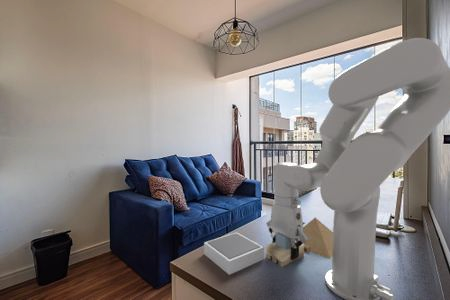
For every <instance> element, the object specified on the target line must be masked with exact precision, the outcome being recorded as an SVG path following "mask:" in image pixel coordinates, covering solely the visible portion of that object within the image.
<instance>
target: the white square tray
mask: <svg viewBox="0 0 450 300" xmlns="http://www.w3.org/2000/svg"><path fill="white" fill-rule="evenodd" d="M203 254H204V256H206V257H207V258H208V259H210V260H211V261H212V262H213V263H214V264H215V265H216V266H218V267H219V268H220V269H221V270H223V271H224V272H225V273H226V274H227V275H229V276H230V275H233V274H234V273H237V272H239V271H241V270H244V269H246V268H248V267H250V266H252V265H254V264H256V263H259V262H261V261H263V260H264V257H265V255H264V254H265V247H264V246H262V245H260V244H259V243H257V242H255V241H254V240H251V239H249V238H248V237H246V236H244V235H242V234H240V233H239V232H233V233H229V234H226V235H224V236H221V237H217V238H214V239H211V240H208V241H205V242H203Z"/></svg>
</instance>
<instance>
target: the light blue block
mask: <svg viewBox="0 0 450 300" xmlns="http://www.w3.org/2000/svg"><path fill="white" fill-rule="evenodd" d="M294 240H295V239H294ZM276 245H277V246H279V247H281V248H283V249H285V250H286V249H288V248H290V247H292V243H291V240H290V238H288V237H286V236H284V235H281V234H279V233H276Z"/></svg>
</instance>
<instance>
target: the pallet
mask: <svg viewBox="0 0 450 300" xmlns="http://www.w3.org/2000/svg"><path fill="white" fill-rule="evenodd" d="M295 243H296V240H295ZM292 247H293V246H292ZM304 256H305V250H304V244H302V245H301V246H299V256H298V258H296V259H294V260H291V247H290V248H288V249H286V250H285V249H283V248H281V247H279V246H277V245H276V242H274V243H269V244H266V245H265V259H266V258H267V260H271V262H273V263H275V264H277V263H278V266H279V267H281V268H284V267H285V266H287V265H289V264H291V263H293V262H295V261H297V260H298V259H301V258H303V257H304Z"/></svg>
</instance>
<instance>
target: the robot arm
mask: <svg viewBox="0 0 450 300" xmlns="http://www.w3.org/2000/svg"><path fill="white" fill-rule="evenodd" d="M398 89H402V91H403V95H402V98H401V100H399V102H398V103H397V104H396V105H395V106H394V107H393V108H392V110H391V111H390V112H389V113H388V115H387V116H386V117H385V118H384V120H383V121H382V122H381V124H380V125H379V126H378V127H377V128H376V129H375V130H371V131H367V132H364V133H362V134H360V135H358V136H357V137H355V135H356V134H357V132H358V130H359V129H360V127H361V126H362V125H363V123H364V121H365V120H366V118H367V117H368V116H369V114H370V113H371V112H372V110H373V108H374V106H375V105H376V103H377V101H379V97H380V96H383V95H386V94H388V93H391V92H394V91H396V90H398ZM328 98H329V101H330V103H331V104H332V106H331V108H330V109H329V111H328V113H327V115H326V117H325V118H324V120H323V121H322V123H321V124H320V127H319V130H318V132H319V134H320V137H321V140H322V144H321V148H320V151H319V152H318V154H317V156H316V157H315V159H314V161H313V162H312V163H307V164H306V163H305V164H297V163H295V162H289V161H287V162H286V161H285V162H283V161H282V162H277V163H276V164H275V167H274V196H273V197H274V200H273V201H274V202H273V203H272V207H271V213H270V219H269V220H268V221H267V222H265V223H266V226H267V228H268V232H269V233H270V237H271V238H272V241H271V242H272V243H274V242H276V233H279V234H281V235H284V236H286V237H288V238H290V240H291V243H292V246H293V247H291V260H294V259H296V258H298V256H299V246H301V245H302V244H304V243H305V242H306V241H307V240H308V238H307V236H306V235H305V233H304V232H303V227H304V226H303V225H304V224H303V222H304V221H303V213H302V209H301V206H300V205H301V204H302V201H301V200H299V190H300V191H304V192H305V191H306V192H307V191H308V192H309V191H311V190H314V189H315V190H316V189H317V188H320V189H319V192H320V196H321V199H322V201H323V203H324V204H325V205H326V206H327V208H329V209H331V210H333V211H334V212H333V225H332V226H333V227H332V232H333V250H332V257H331V260H332V261H331V270H328V271H327V272H326V273H325V284H326V285H327V287H328V289H330V290H331V291H332V292H333V293H334V294H335V295H336V296H339V297H340V298H342V299H344V300H395V295H394V294H393V293H392V288H390V287H387V286H386V285H385V286H384V285H382V284H381V282H379V276H378V275H377V274H375V256H376V255H375V254H376V234H377V219H378V210H379V202H380V196H381V186H382V184H383V183H384V182H385V181H386V180H387V179H388V178H389V176H391V174H393V172H395V171H398V170H399V169H401V168H403V166H404V165H405V164H406V163H407V162H408V160H409V159H410V158H411V156H412V155H413V154H414V153H415V151H416V150H417V149H418V148H419V147H420V146H421V145H422V144H423V143H424V142H425V140H426V139H427V138H428V137H429V136H430V135H431V134H432V132H433V131H434V130H435V129H436V127H438V125H439V124H440V123H442V121H443V119H445V117H446V116H447V115H448V113H449V112H450V66H449V65H448V63H447V61H446V60H445V57H444V55H443V52H442V50H441V48H440V46H439V45H438V44H437V43H436V42H435V41H433V40H431V39H429V38H424V37H414V38H409V39H405V40H402V41H399V42H398V43H394V44H393V45H390V46H389V47H388V48H387V47H386V48H385V49H383V50H381V51H379V52H378V53H376V54H374V55H371V56H370V57H369V58H366V59H364V60H362V61H360V62H359V63H357V64H355V65H353V66H351V67H349V68H348V69H346V70H344V71H343V72H341V73H340V74H338V75H337V76H336V77H335V78H334V79H333V80H332V82H331V84H330V85H329V88H328ZM354 137H355V138H354ZM353 138H354V139H353ZM298 236H300V237H301V240H299V237H298ZM294 239H295V240H296V243H295V240H294Z"/></svg>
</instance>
